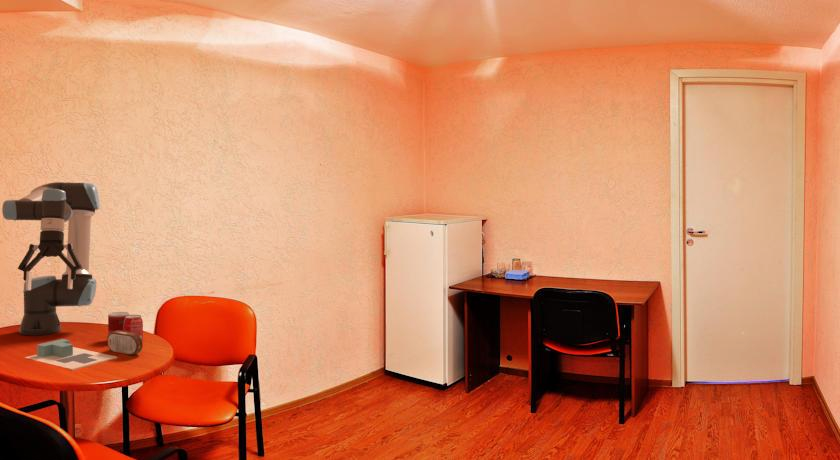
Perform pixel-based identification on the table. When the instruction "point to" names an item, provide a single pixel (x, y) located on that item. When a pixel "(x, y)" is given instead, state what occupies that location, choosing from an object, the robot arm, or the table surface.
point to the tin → (124, 342)
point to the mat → (75, 359)
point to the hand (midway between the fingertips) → (49, 289)
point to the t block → (55, 348)
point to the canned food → (116, 321)
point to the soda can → (134, 325)
